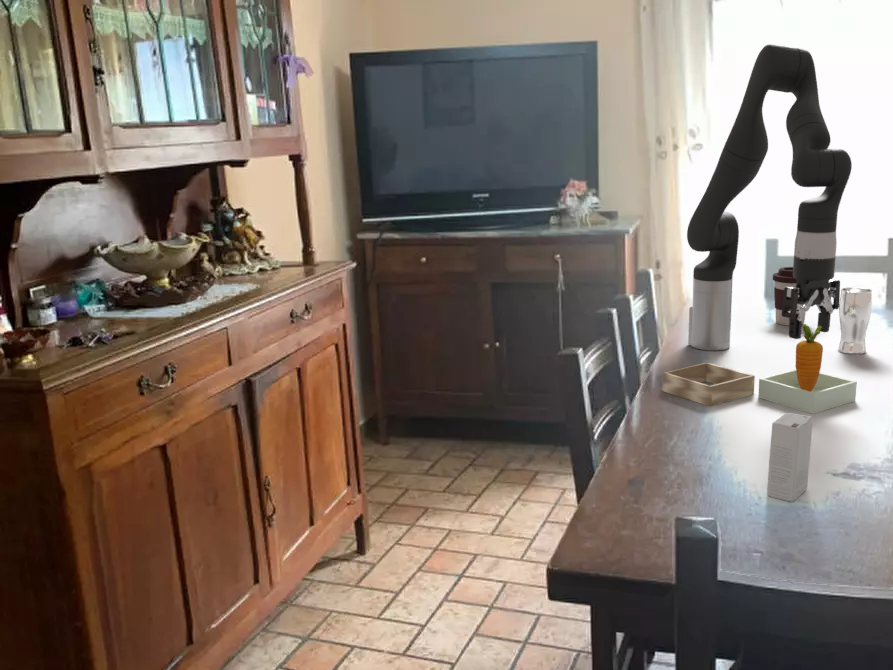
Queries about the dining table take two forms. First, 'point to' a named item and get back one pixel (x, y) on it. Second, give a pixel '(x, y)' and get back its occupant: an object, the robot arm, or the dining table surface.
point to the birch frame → (724, 390)
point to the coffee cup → (781, 281)
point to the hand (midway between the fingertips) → (809, 334)
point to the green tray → (821, 398)
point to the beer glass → (854, 319)
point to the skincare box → (789, 456)
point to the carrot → (808, 359)
